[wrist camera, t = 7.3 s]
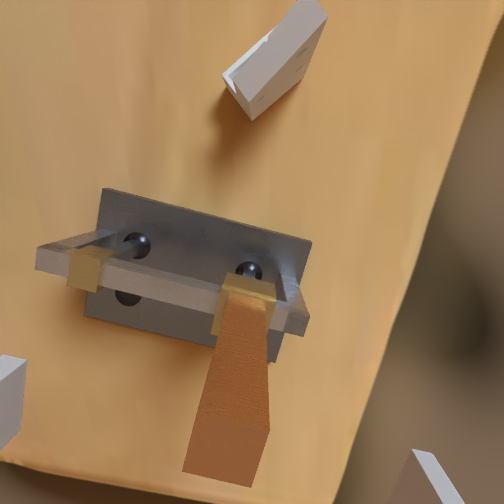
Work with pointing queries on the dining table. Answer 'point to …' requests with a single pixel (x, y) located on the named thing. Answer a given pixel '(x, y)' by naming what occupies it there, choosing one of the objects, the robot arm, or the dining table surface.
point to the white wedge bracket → (277, 59)
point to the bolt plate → (189, 263)
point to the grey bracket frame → (152, 277)
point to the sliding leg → (235, 385)
